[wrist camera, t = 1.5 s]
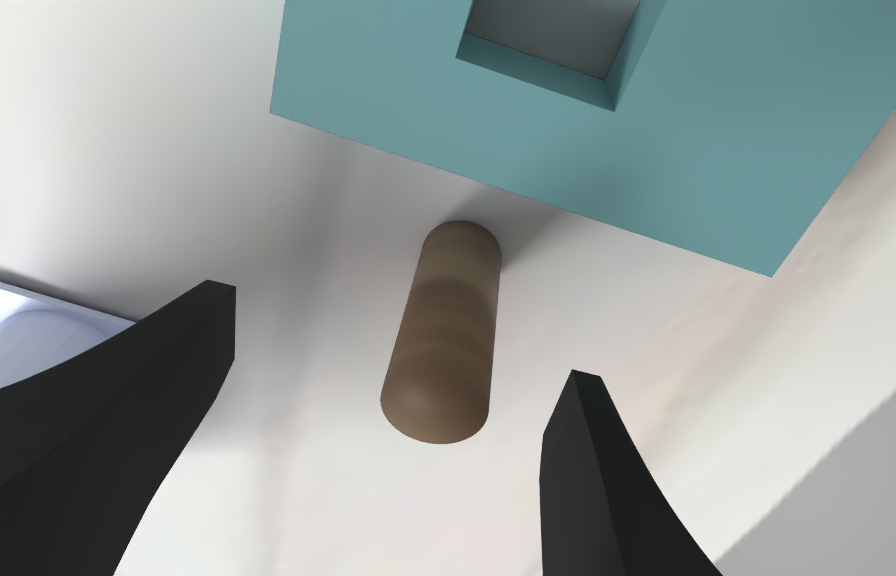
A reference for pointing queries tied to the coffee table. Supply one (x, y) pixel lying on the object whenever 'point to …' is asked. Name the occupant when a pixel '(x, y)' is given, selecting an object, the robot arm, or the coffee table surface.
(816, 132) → the socket board
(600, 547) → the robot arm
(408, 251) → the coffee table surface
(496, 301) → the peg
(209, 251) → the coffee table surface
